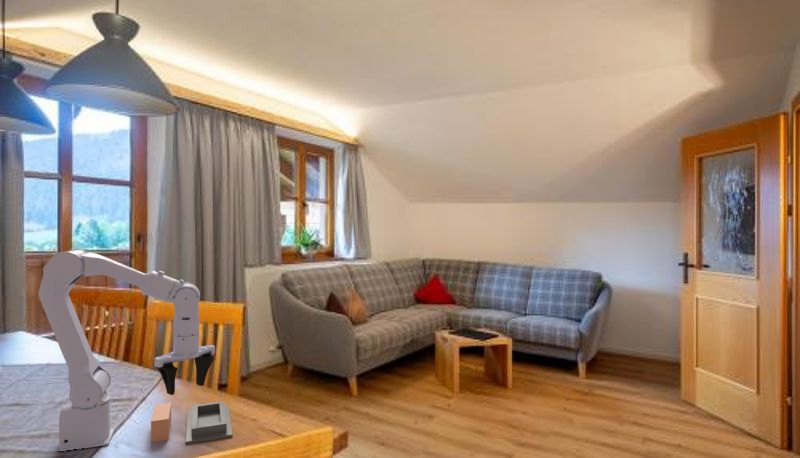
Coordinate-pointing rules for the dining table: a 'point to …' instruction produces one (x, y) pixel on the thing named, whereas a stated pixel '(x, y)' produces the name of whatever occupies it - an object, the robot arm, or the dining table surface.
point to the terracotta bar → (161, 422)
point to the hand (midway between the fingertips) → (185, 389)
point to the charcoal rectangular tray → (208, 422)
